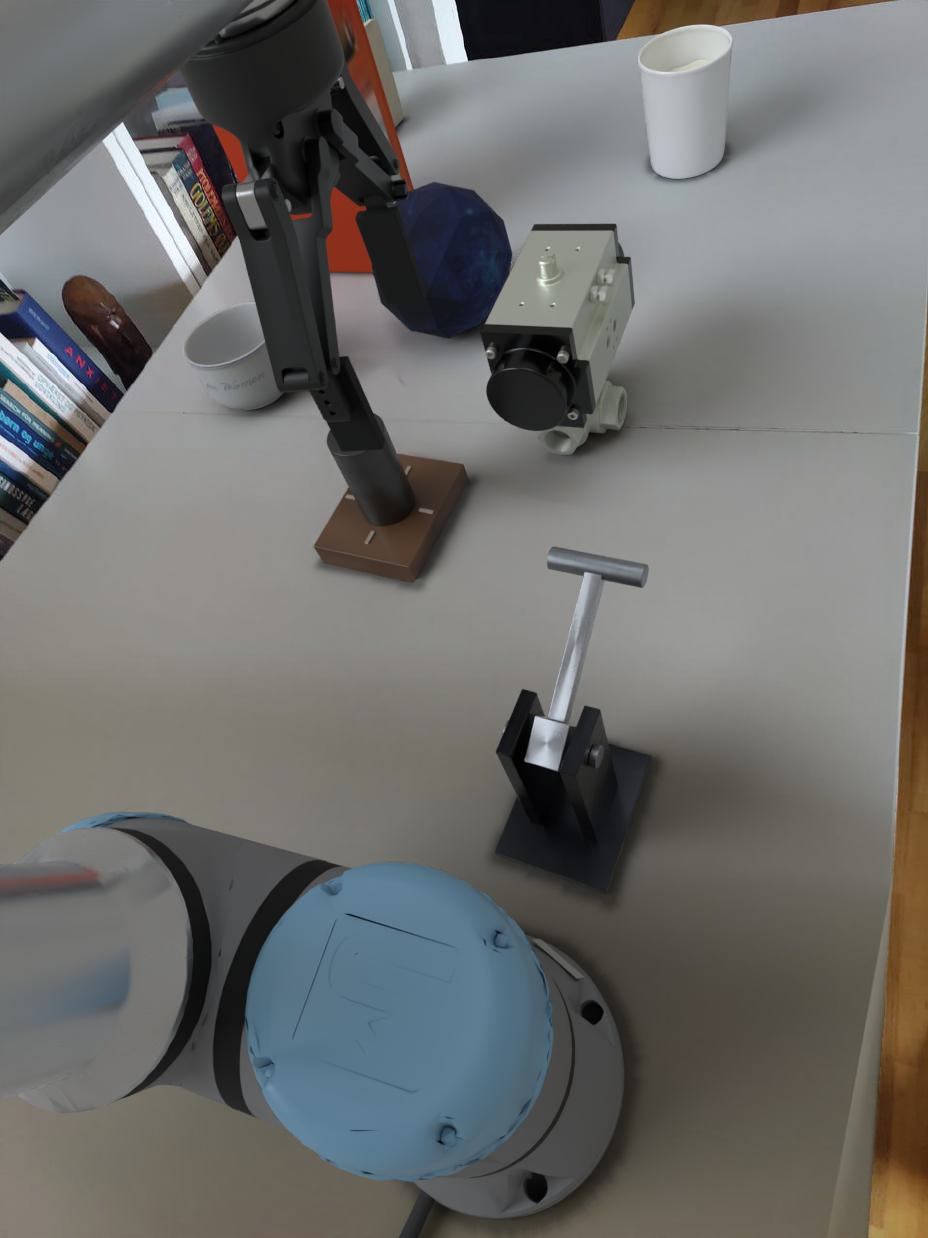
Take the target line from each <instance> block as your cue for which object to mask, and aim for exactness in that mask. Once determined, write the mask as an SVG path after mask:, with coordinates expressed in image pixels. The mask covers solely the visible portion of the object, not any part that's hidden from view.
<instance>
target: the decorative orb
mask: <svg viewBox="0 0 928 1238" xmlns="http://www.w3.org/2000/svg"><path fill="white" fill-rule="evenodd" d="M394 206H398V209H399V212H400V215H401V218H402V221H403V224H404V227H405V230H406V233H407V237H408V240H409V243H410V246H411V249H412V252H413V255H414V258H415V261H416V264H417V267H418V270H419V274H420V277H421V280H422V283H423V286H424V289H425V292H426V296H425V300H424V301H420V302H410V303H401V304H391V305H387V303H386V300H385V298H384V295H383V292H382V290H381V287H380V284H379V282H378V279H377V276H376V274H375V271H374V268H373V266H372V271H373V273H372V274H373V278H374V281H375V285H376V289H377V294H378V297H379V300H380V304H381V305H382V306H383V307H384V308H385V309H386V310H388V311H389V312H390V313H391V314H392V315H393V316H394V317H395V318H396V319H397V320H398V321H400V322H401V324H403V326H405V327H406V329H408V330H409V331H410V332H414V333H420V334H425V335H431V336H434V337H441V338H445V339H450V338H452V337H455V336H457V335H459V334H462V333H463V332H465V331H468V330H470V329H472V328H474V327H476V326H478V325H480V324H481V323H482V322H483V321H484V320H485V319H486V318H488V316H489V314H490V312H491V310H492V308H493V306H494V304H495V302H496V300H497V298H498V296H499V294H500V292H501V290H502V288H503V286H504V284H505V282H506V280H507V278H508V276H509V274H510V272H511V265H512V259H513V250H512V247H511V243H510V238H509V235H508V232H507V227H506V224H505V221H504V219H503V218H502V217H501V216H500V214H498V212H496V211H495V210H494V208H492V207H491V206H490V205H489V203H487V202H486V201H485V200H484V199H483V198H482V197H481V195H479V193H477V192H476V191H475V190H474V189H470V188H465V187H461V186H456V185H451V184H446V183H442V182H438V181H432V182H429V183H427V184H424V185H422V186H419V187H417V188H414V190H411V191H409V192H408V199H407V200H403V201H397V202H396V203H395V204H394Z"/></svg>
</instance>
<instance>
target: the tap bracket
mask: <svg viewBox="0 0 928 1238" xmlns="http://www.w3.org/2000/svg"><path fill="white" fill-rule="evenodd" d="M535 716H542V717H546V715H545V712H544V709H543V706H542V703H541V700H540V698H539V695H538V692H536V691H532V690H529V689H525V688H522V689H521V690H520V692H519V695H518V698H517V700H516V703H515V704H514V706H513V709H512V711H511V714H510V717H509V719H508V720H506V723H505V725H504V726H503V730H502V735H501V738H500V740H499V742H498V744H497V747H496V749H495V754H496V756H497V758H498V760H499V762H500V764H501V766H502V768H503V769H504V773H505V774H506V776H507V778H508V780H509V782H510V784H511V787H512V788H513V790H514V792H515V794H516V798H515V800H514V803H513V805H512V808H511V811H510V813H509V816H508V817H507V821H506V823H505V825H504V827H503V829H502V833H501V836H500V838H499V841H498V843H497V846H496V848H495V850H494V853H495V854H496V856H500V857H502V858H505V859H508V860H510V861H512V862H513V861H514V862H515V863H516V862H517V863H519V864H522V865H524V866H527V867H529V868H530V867H531V868H533V869H536V870H538V871H541V872H544V873H547V874H549V875H552V876H555V877H558V878H561V879H563V880H567V881H569V882H571V883H575V884H578V885H581V886H583V887H586V888H589V889H592V890H595V891H597V892H600V893H602V894H606V895H607V894H608V893H609V890H610V887H611V884H612V881H613V877H614V875H615V873H616V869H617V865H618V863H619V859H620V856H621V853H622V851H623V848H624V844H625V843H626V842H625V841H626V838H627V836H628V832H629V830H630V826H631V823H632V821H633V817H634V815H635V811H636V809H637V805H638V802H639V799H640V796H641V794H642V790H643V787H644V785H645V781H646V778H647V776H648V773H649V769H650V767H651V763H652V759H653V758H652V755H650V754H646V753H644V752H640V751H636V750H633V749H629V748H625V747H621V746H619V745H616V744H615V745H614V744H612V743H609V740H608V736H607V732H606V727H605V723H604V718H603V713H602V711H601V709H600V708H597V707H593V706H590V705H583V708H582V711H581V714H580V716H579V718H578V722H577V724H576V725H577V726H576V729H575V732H574V734H573V737H572V739H571V742H570V745H569V747H568V750H567V752H566V755H565V758H564V760H563V763H562V766H561V768H560V771H559V772H557V771H554V770H550V769H547V768H544V767H540V766H537V765H534V764H531V763H527V762H525V761H524V759H525V755H526V751H527V747H528V743H529V739H530V735H531V731H532V727H533V723H534V719H535Z"/></svg>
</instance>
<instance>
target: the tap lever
mask: <svg viewBox="0 0 928 1238" xmlns="http://www.w3.org/2000/svg"><path fill="white" fill-rule="evenodd" d="M546 567H547V569H548V570H551V571H556V572H560V573H565V574H570V575H575V576H581V577H582V579H581V580H582V581H581V585H580V587H579V592H578V596H577V600H576V604H575V609H574V612H573V615H572V620H571V624H570V628H569V631H568V635H567V639H566V643H565V647H564V652H563V656H562V659H561V663H560V667H559V671H558V675H557V678H556V683H555V687H554V690H553V695H552V699H551V702H550V706H549V711H548V715H547V716H545V717H542V716H535V719H534V723H533V727H532V731H531V735H530V739H529V743H528V747H527V751H526V755H525V759H524V761H525V762H527V763H531V764H534V765H537V766H540V767H544V768H547V769H550V770H554V771H557V772H559V771H560V768H561V766H562V763H563V760H564V758H565V755H566V752H567V750H568V747H569V745H570V742H571V739H572V737H573V734H574V732H575V729H576V726H577V724H573V723H570V719H571V715H572V712H573V708H574V704H575V700H576V696H577V693H578V689H579V685H580V680H581V676H582V673H583V668H584V664H585V660H586V657H587V653H588V649H589V644H590V641H591V636H592V633H593V629H594V625H595V622H596V617H597V613H598V609H599V605H600V602H601V598H602V593H603V589H604V585H605V582H610V583H615V584H620V585H625V586H628V587H629V586H630V587H635V588H640V589H644V588H645V586H646V584H647V582H648V578H649V573H650V572H649V571H650V570H649V569H650V567H649V564H647V563H643V562H637V561H633V560H628V559H627V560H626V559H622V558H617V557H611V556H606V555H601V554H595V553H592V552H591V553H590V552H585V551H580V550H574V549H569V548H564V547H559V546H551V548H550V549H549V551H548V554H547V557H546Z"/></svg>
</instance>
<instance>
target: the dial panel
mask: <svg viewBox="0 0 928 1238" xmlns="http://www.w3.org/2000/svg"><path fill="white" fill-rule="evenodd" d="M397 455H398V457H399V459H400V462H401V464H402V466H403V469H404V471H405V473H406V476H407V478H408V480H409V483H410V485H411V487H412V490H413V492H414V494H415V503H414V506H413V508H412V510H411V512H410V513H409V514H408V515H407V516H406V517H405V518H404V519H402V520H400V521H399V522H397V523H394V524H391V525H385V526H379V525H374V524H372V523H370V522H368V521H367V520H366V519H365V517H364V516H363V514H362V512H361V510H360V508H359V506H358V504H357V502H356V500H355V498H354V496H353V494H352V492H351V490H350V489H349V487H347V490H346V491H345V493H344V494H343V496H342V498H341V499H340V501H339V503H338V504H337V505H336V507H335V509H334V511H333V513H332V514H331V516H330V517H329V519H328V521H327V523H326V524H325V526H324V528H323V529H322V531H321V532H320V534H319V536H318V538H317V539H316V541H315V543H314V544H313V546H312V547H313V549H314V550H315V552H316V553H317V555H318V556H319V558H320V560H321V561H322V564H323V563H324V564H327V565H332V566H337V567H339V568H340V567H342V568H346V569H349V570H353V571H354V570H355V571H358V572H364V573H367V574H372V575H376V576H381V577H384V578H390V579H395V580H399V581H403V582H408V583H412V584H414V583H415V582H416V580H417V578H418V575H419V574H420V572H421V570H422V568H423V567H424V564H425V562H426V561H427V559H428V557H429V555H430V554H431V553H430V552H431V551H432V549H433V547H434V545H435V543H436V541H437V540H438V538H439V535H440V533H441V532H442V530H443V528H444V526H445V524H446V523H447V520H448V518H449V517H450V515H451V512H452V510H453V509H454V507H455V505H456V503H457V501H458V499H459V497H460V495H461V494H462V491H463V489H464V488H465V487H469V485H470V479H469V476H468V471H467V470H466V467H465V463H460V462H453V461H448V460H442V459H441V460H440V459H436V458H435V459H434V458H428V457H423V456H416V455H409V454H402V453H397Z"/></svg>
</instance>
